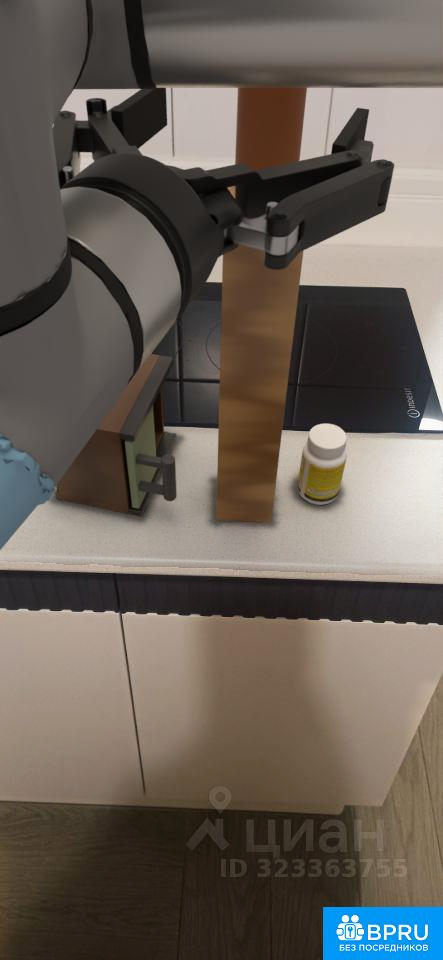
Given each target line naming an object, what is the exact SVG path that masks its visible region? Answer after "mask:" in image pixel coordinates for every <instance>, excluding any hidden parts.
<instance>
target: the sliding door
mask: <svg viewBox="0 0 443 960" xmlns="http://www.w3.org/2000/svg"><path fill="white" fill-rule="evenodd" d="M125 447H126V456H127V465H128V473H129V482H130V491H131V500H132V507H133V508H138V509H139V508H140V506H141V503H142V501H143V499H144V497H145V494H146V492H149V493H152V494H154V495H159V496H163V497H162V498H163V499H164V500H165V501H166V502H173V501H175V500H176V499H177V493H178V492H177V470H176V469H177V467H176V457H175V456H174V455H173V454H171V453H170V454H167V455H164V456H163V457H162V458H160V457H156V444H155V430H154V415H153V406H152V408H151V410H150V412H149V414H148V416H147V418H146V420H145V422H144V424H143V426H142V428H141V430H140V432H139V434H138V436H137V438H136V440H135V441H129V440H125ZM157 468H161V469H162V472H161V481H162V482H161V483H162V484H161V483H157V484H156V483H151V481H152V479H153V476H154V474H155V472H156V470H157Z"/></svg>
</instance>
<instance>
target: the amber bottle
mask: <svg viewBox="0 0 443 960" xmlns="http://www.w3.org/2000/svg"><path fill="white" fill-rule="evenodd" d="M307 93H308V88H237V101H236V125H235V126H236V127H235V129H236V131H235V153H234V154H235V155H234V156H235V157H234V160H235V161H234V165H235V164H240V163H244V164H246V165H247V166H249V167H250V168H252V169H253V170H259V169H264V168H268V167H273V166H278V165H283V164H287V163H292V162H297V161H301V160H300V159H301V150H302V141H303V140H302V139H303V131H304V121H305V113H306V111H305V109H306V102H307Z"/></svg>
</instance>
